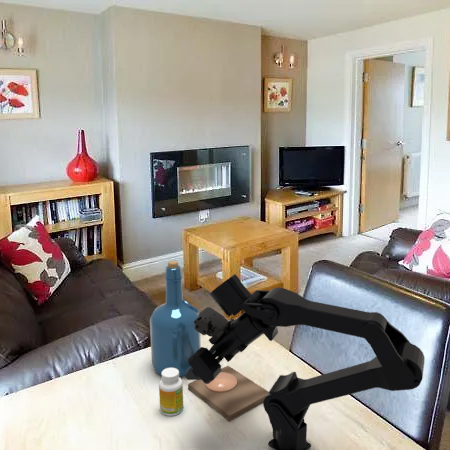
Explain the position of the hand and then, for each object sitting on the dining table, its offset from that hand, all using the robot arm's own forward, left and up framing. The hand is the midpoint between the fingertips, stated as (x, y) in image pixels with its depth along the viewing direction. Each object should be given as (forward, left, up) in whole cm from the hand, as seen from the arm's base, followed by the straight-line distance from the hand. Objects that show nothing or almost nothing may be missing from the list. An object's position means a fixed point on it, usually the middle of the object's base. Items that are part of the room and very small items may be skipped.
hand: (196, 366), depth 102 cm
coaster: (+5, -11, -11) cm, 17 cm away
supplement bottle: (+6, +3, -13) cm, 15 cm away
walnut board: (+2, -11, -13) cm, 17 cm away
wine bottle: (+21, -8, -13) cm, 26 cm away
